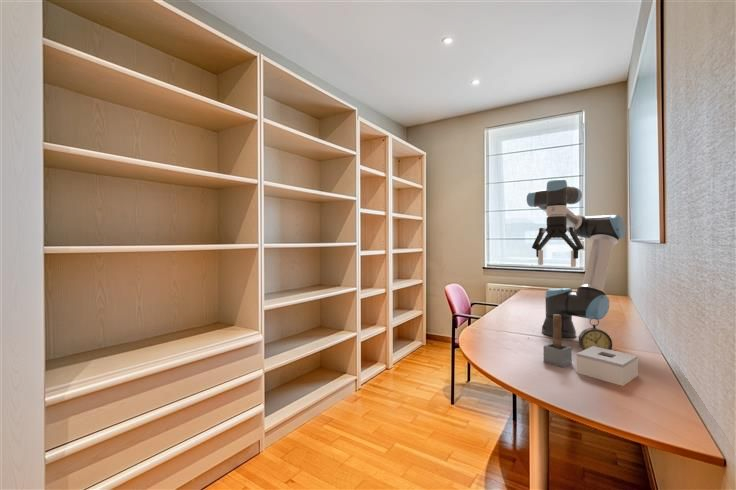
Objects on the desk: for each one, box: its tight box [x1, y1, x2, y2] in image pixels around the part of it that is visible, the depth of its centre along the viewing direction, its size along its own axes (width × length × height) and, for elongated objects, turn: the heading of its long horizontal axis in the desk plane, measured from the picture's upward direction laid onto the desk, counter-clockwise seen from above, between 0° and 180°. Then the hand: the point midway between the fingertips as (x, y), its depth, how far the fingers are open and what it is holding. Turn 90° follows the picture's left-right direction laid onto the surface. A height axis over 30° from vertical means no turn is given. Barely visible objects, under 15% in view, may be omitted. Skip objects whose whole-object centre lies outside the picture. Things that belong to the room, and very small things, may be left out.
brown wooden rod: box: [552, 314, 562, 349], centre depth 133 cm, size 3×3×18 cm
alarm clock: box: [577, 318, 613, 351], centre depth 138 cm, size 11×5×16 cm, turn 73°
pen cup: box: [543, 342, 573, 368], centre depth 133 cm, size 7×7×6 cm
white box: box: [576, 346, 639, 387], centre depth 121 cm, size 14×14×7 cm
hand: (556, 265), depth 147 cm, fingers open, 13 cm apart
